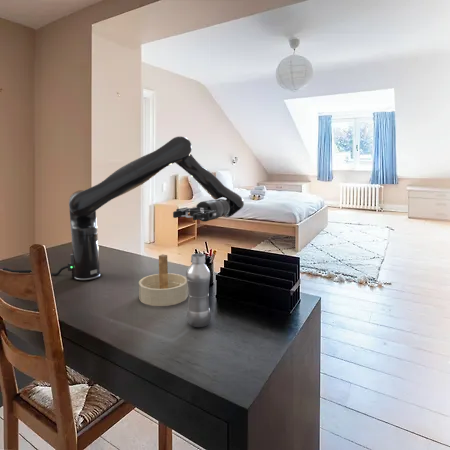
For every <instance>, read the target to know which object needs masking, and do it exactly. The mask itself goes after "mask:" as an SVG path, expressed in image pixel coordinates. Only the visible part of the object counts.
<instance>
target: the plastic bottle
mask: <svg viewBox="0 0 450 450" xmlns="http://www.w3.org/2000/svg"><path fill="white" fill-rule="evenodd" d="M190 263H191V265H190V266H188V268H187V270H186V273H185V277H186V278H187V284H188V302H187V303H188V304H187V311H186V320H187V323H188V324H189V326H191V327H193V328H204V327H207V326H209V324H210V323H211V318H212V312H211V308H210V299H209V296H210V295H209V292H210V290H209V289H210V281H211V271H210V268H208V266H207V264H206V254H204V253H192V254H191V257H190Z"/></svg>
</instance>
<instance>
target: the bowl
mask: <svg viewBox="0 0 450 450" xmlns="http://www.w3.org/2000/svg"><path fill="white" fill-rule="evenodd" d="M138 298H139V299H138V300H139V301H140V302H141V303H142V304H144V305H146V306H150V307H170V306H175V305H178V304H181V303H183V302H184V301H186V300H187V299H188V298H189V293H188V284H187V278H186V275H182V274H180V273H179V274H178V273H171V272H168V288H167V289H160V285H159V273H154V274H150V275H146V276H144V277H142V278H141V279H140V280H139V281H138Z"/></svg>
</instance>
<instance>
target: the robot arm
mask: <svg viewBox="0 0 450 450" xmlns="http://www.w3.org/2000/svg"><path fill="white" fill-rule="evenodd" d="M192 149H193V146H192V142H191V140H189V138H187V137H186V136H180V135H179V136H175V137H173V138H171V139H170V140H169V141H167V142H166V143H165V144H163V145H161V146H160V147H159V148H157V149H156V150H154V151H151V152H149V153H147V154H145V155H143V156H140V157H138V158H136V159H134V160H132V161H130V162H128V163H127V164H125V165H122V166H121V167H120V168H118V169H116V170H115V171H114V172H112V173H111V174H110V175H109V176H107V177H106V178H105V179H104V180H101V182H99V183H97V184H96V185H93V186H91V187H89V188H86V189H81V190H80V189H79V190H76V191H74V192H72V194H71V195H70V196H69V199H68V210H69V223H70V236H71V248H72V253H70V262H68V263H67V265H65V266H62V267H60V268H59V269H58V271H57V272H50V273H51V275H50V276H58V275H60V274H61V273H62V271H64V270H65V269H67V271H68V272H71V279H73V280H76V281H78V282H79V281H80V282H81V281H82V282H85V281H93V280H96V279H98V278H100V277H101V270H100V269H101V268H100V267H101V266H100V250H99V235H98V222H97V212H96V211H98V210H99V209H101V208H102V207H103V206H104V205H106V204H107V203H109V202H111V201H112V200H114V199H116V198H119V197H120V196H123V195H125V194H126V193H129V192H130V191H132V190H134V189H136V188H138V187H141V186H142V185H143V184H144V183H147V182H148V181H150V179H152V178H153V177H154V176H156V175H157V174H159V173H160V172H161V171H162V170H164V169H165V168H167V167H168V166H171V165H173V164H176V165H177V166H178V167H180V168H181V169H183V170H184V171H185V172H186V173H188V175H190V176H191V177H192V178H193V179H194V180H195V182H197V183H198V184H199V185H200V187H202V188H203V190H204V191H205V192H206V193H207V194H208V195H209V196H210V197H211V198H212V199H209V200H204V201H200V202H198V203H197V204H196V206H192V207H188V206H186V207H181V208H176V210H175V211H173V212H172V218H174V219H178V218H184V217H185V218H187V219H189V218H190V219H191V218H192V220H193V221H200V222H206V223H207V222H210V221H213V220H216V219H217V220H218V219H219V218H231V217H233V216H234V215H235V214H237V213H238V212H239V211H241V210H242V209H243V208H244V206H245V202H244V199H243V198H242V196H241V195H239V194H238V193H237V192H235V191H233V190H231V189H230V188H228V187H227V186H226V185H224V184H223V182H222V181H221V180H220V179H219V178H218V177H217V176H216V175H214V173H212V171H210V170H209V169H207V168H205V167H204V166H203V165H202V164H201V163H199V162H198V160H197V159H196V158H195V157H194V156H193V155H192ZM1 269H3V271H8V272H10V271H11V272H12V273H32V272H31V270H32V269H13V268H9V267H2V268H1ZM11 272H10V273H11Z"/></svg>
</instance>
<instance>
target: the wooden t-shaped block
mask: <svg viewBox="0 0 450 450" xmlns="http://www.w3.org/2000/svg"><path fill="white" fill-rule="evenodd" d="M168 267H169V266H168V254H163V253H162V254H160V255H158V274H159V285H160V289H167V288H168V273H169V271H168V269H169V268H168Z"/></svg>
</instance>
